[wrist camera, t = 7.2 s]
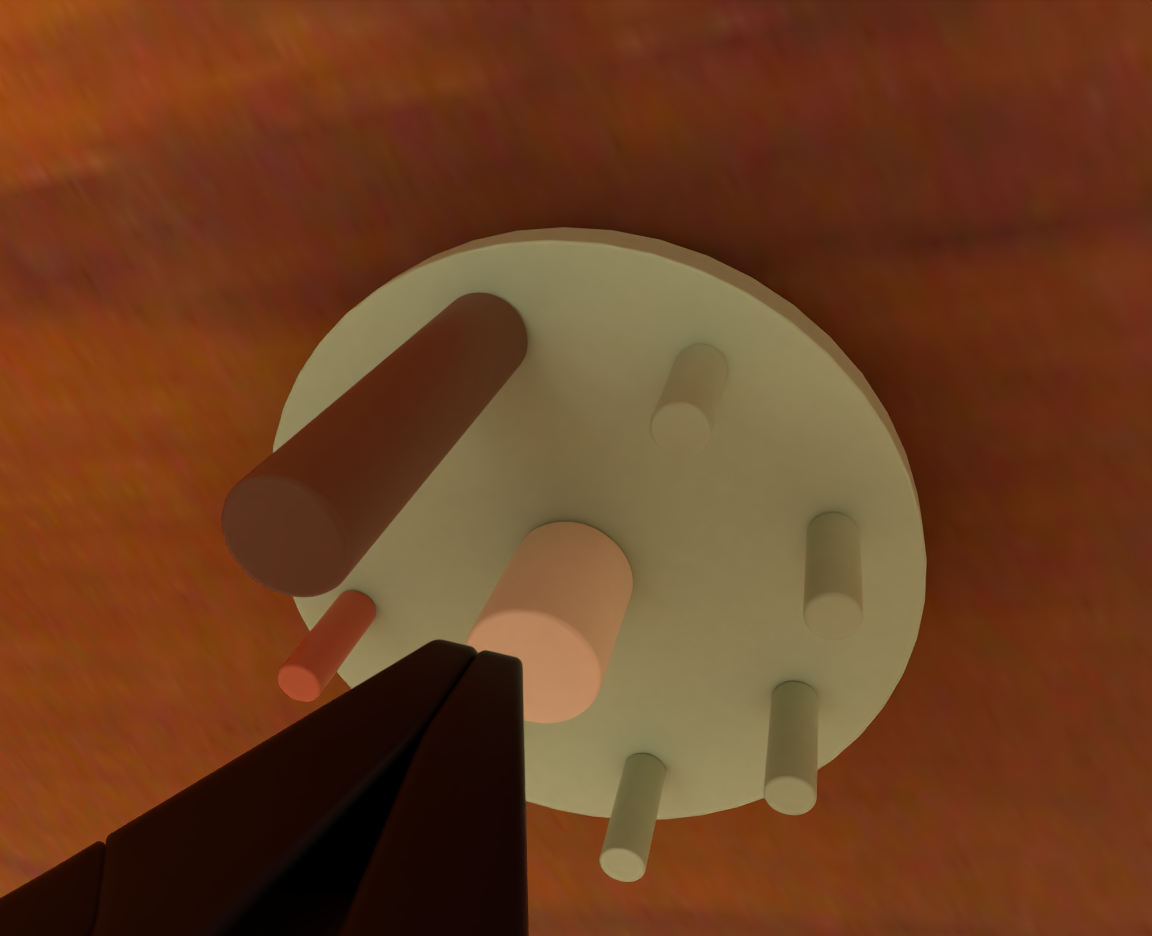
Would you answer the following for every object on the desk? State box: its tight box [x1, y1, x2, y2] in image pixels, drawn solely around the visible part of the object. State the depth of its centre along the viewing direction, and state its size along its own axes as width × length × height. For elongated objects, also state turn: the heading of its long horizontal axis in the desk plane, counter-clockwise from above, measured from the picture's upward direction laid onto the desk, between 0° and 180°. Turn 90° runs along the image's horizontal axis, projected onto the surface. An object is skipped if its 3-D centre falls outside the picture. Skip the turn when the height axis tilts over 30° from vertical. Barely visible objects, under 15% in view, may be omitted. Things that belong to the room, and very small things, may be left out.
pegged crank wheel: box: [221, 227, 927, 882], centre depth 16 cm, size 13×13×8 cm
